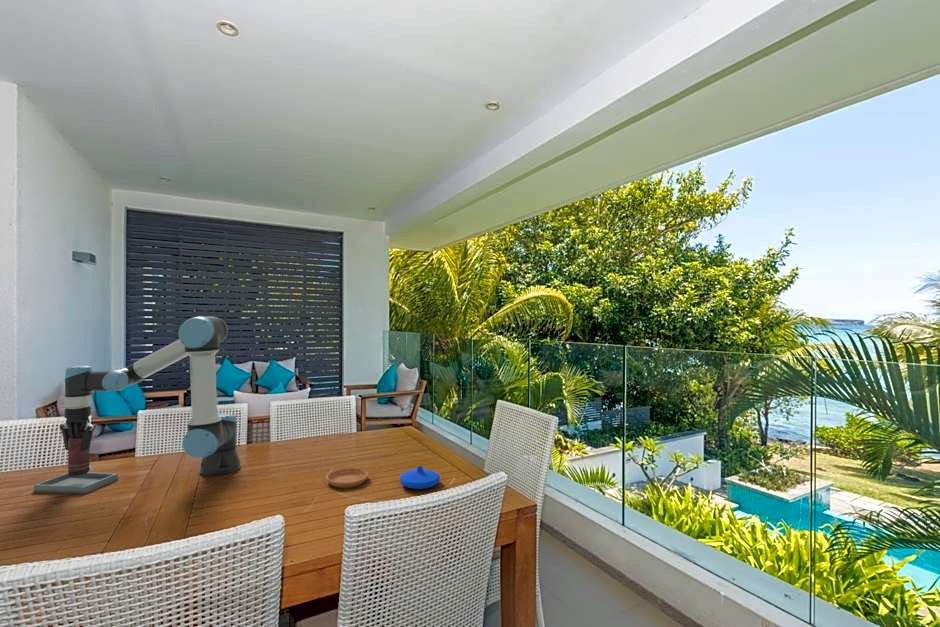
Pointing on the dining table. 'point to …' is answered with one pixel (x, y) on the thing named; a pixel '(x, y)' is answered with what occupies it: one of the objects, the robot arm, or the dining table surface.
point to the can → (77, 458)
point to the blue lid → (419, 478)
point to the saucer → (347, 477)
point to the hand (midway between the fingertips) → (77, 468)
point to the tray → (76, 483)
